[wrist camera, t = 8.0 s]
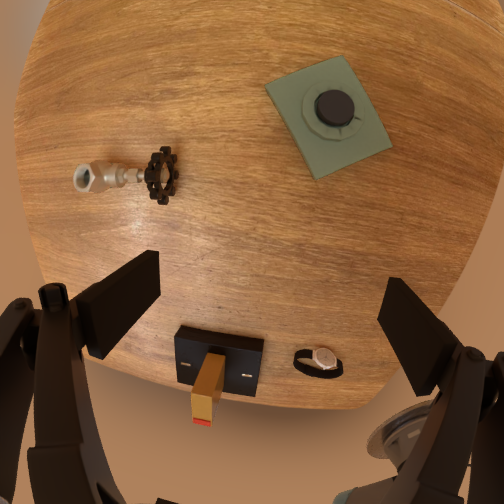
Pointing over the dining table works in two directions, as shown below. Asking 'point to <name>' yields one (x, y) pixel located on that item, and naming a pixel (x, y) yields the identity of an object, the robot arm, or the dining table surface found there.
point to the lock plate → (231, 346)
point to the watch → (319, 363)
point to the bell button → (335, 107)
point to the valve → (130, 176)
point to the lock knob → (208, 389)
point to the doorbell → (317, 131)
